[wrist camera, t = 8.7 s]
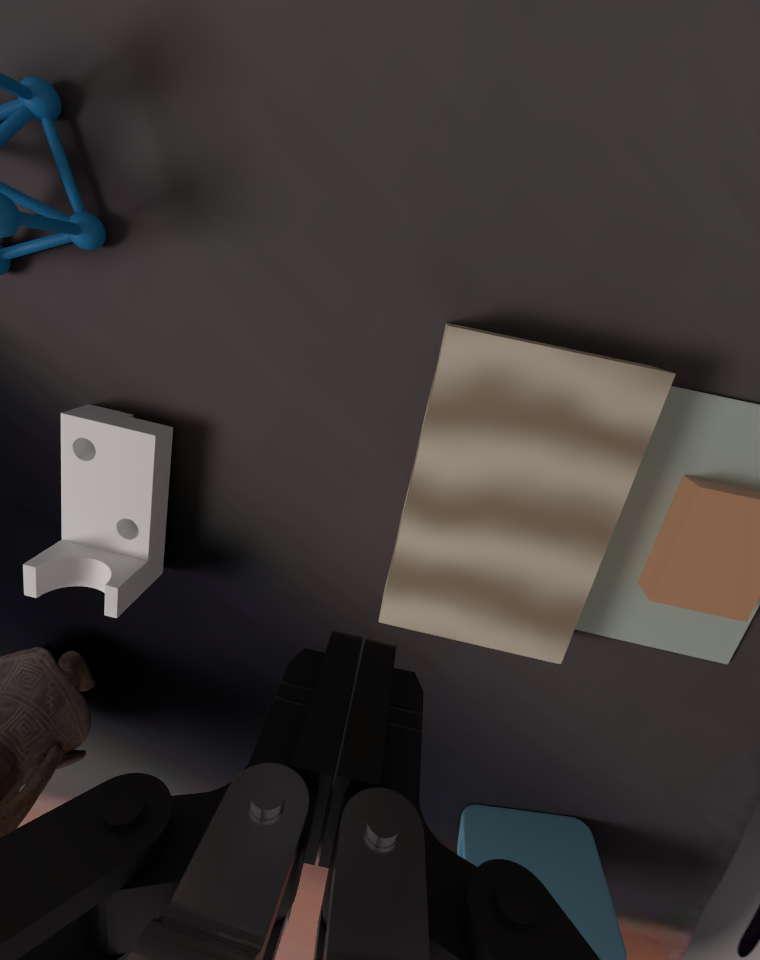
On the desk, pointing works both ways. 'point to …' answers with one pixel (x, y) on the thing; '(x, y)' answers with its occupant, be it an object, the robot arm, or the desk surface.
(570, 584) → the light wood flat block
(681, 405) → the mat
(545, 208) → the desk surface
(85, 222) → the molecular structure
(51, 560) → the bracket
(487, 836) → the data package
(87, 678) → the clay figurine
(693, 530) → the tile
